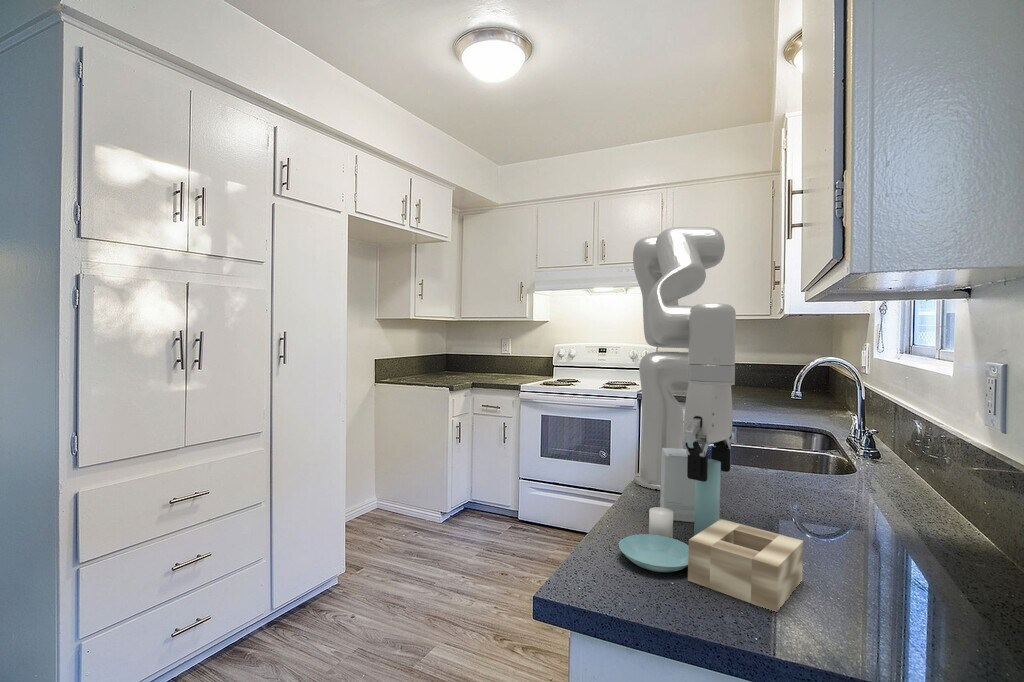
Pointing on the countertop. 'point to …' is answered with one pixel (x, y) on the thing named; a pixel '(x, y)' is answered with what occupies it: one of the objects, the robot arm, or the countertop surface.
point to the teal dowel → (707, 498)
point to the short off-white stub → (661, 522)
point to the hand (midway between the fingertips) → (709, 474)
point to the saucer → (655, 552)
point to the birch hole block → (746, 563)
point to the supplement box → (677, 485)
